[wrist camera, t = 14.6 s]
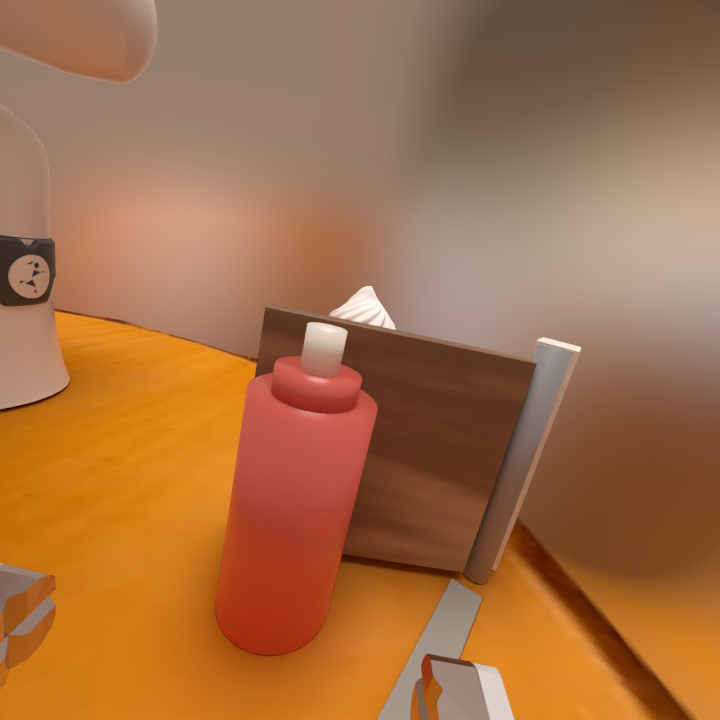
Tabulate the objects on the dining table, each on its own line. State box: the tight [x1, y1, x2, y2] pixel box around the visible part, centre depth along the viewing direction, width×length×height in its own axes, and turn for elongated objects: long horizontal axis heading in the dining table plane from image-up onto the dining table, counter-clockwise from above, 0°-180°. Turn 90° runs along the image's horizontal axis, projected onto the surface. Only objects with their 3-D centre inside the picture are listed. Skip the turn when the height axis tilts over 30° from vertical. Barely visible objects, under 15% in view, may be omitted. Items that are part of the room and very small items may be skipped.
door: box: [255, 304, 537, 572], centre depth 23 cm, size 3×15×14 cm, turn 92°
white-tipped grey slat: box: [377, 337, 581, 720], centre depth 18 cm, size 2×22×16 cm, turn 147°
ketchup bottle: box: [215, 322, 378, 656], centre depth 18 cm, size 6×6×15 cm
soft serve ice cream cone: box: [329, 286, 396, 330], centre depth 44 cm, size 8×8×16 cm
